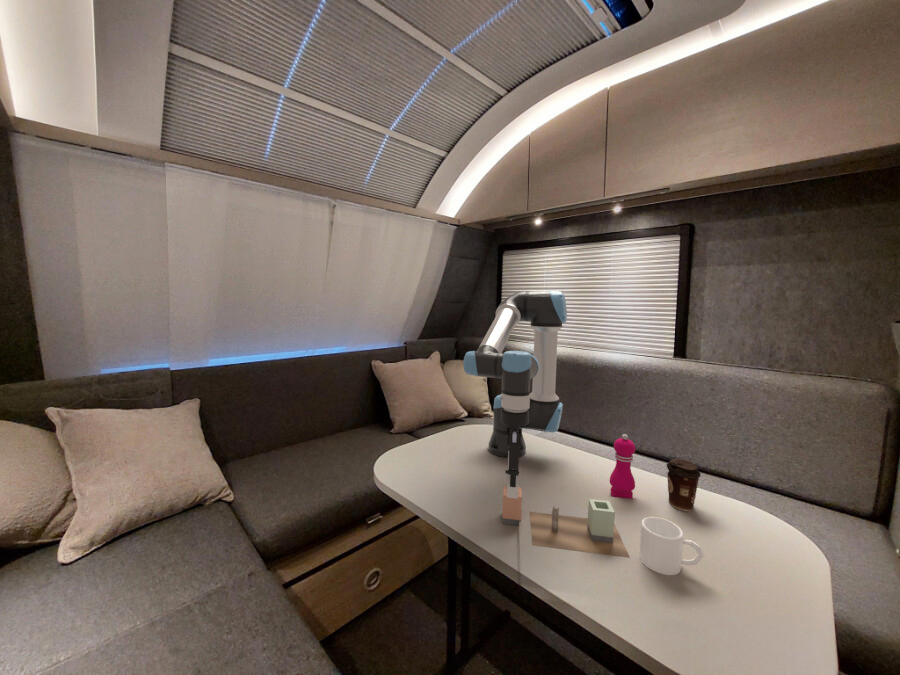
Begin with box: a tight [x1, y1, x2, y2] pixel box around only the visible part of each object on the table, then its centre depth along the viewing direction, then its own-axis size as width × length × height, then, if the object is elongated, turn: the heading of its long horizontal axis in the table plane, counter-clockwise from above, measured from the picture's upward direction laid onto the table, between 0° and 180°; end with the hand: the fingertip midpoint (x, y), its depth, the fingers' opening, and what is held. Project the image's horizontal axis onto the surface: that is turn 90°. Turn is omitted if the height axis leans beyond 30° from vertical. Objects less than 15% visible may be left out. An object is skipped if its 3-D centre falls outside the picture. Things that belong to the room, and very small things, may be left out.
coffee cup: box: [665, 458, 701, 512], centre depth 106 cm, size 9×8×13 cm
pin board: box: [529, 505, 631, 559], centre depth 90 cm, size 14×22×8 cm, turn 80°
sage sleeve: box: [587, 498, 616, 543], centre depth 89 cm, size 5×5×8 cm
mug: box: [638, 516, 705, 576], centre depth 79 cm, size 8×12×10 cm
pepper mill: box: [609, 433, 636, 500], centre depth 110 cm, size 7×7×20 cm
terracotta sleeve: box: [501, 485, 523, 526], centre depth 98 cm, size 5×5×8 cm
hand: (512, 484), depth 97 cm, fingers open, 13 cm apart
